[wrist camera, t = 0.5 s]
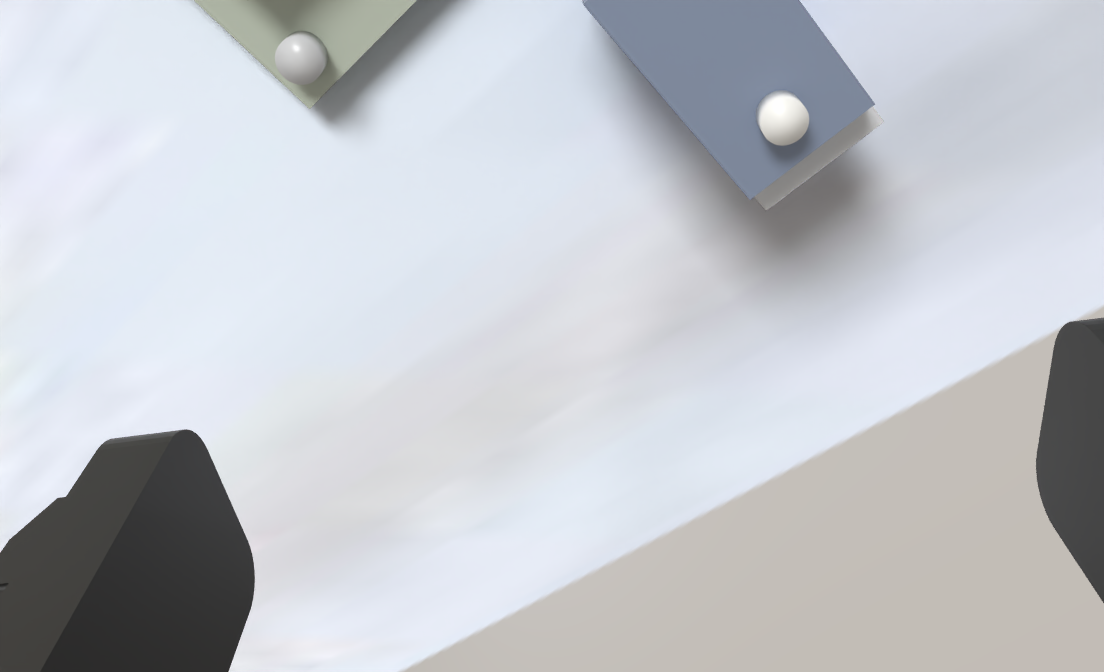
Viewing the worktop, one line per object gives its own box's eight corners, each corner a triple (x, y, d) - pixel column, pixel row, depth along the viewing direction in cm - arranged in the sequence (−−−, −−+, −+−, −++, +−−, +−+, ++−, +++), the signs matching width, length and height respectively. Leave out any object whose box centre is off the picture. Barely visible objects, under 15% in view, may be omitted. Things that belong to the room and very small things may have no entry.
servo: (653, -176, 26) (684, -161, 20) (838, 74, 30) (910, 149, 24) (548, -73, 27) (548, -30, 22) (737, 154, 31) (781, 243, 25)
